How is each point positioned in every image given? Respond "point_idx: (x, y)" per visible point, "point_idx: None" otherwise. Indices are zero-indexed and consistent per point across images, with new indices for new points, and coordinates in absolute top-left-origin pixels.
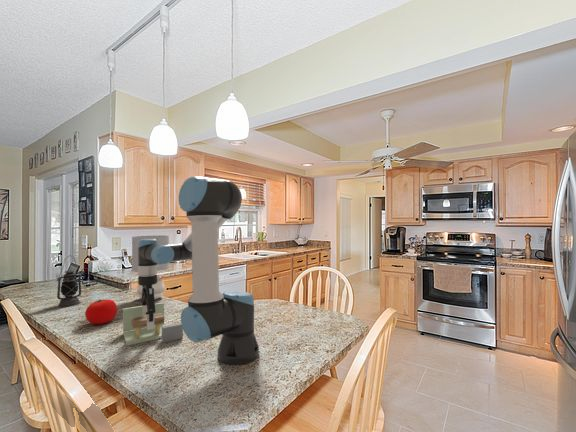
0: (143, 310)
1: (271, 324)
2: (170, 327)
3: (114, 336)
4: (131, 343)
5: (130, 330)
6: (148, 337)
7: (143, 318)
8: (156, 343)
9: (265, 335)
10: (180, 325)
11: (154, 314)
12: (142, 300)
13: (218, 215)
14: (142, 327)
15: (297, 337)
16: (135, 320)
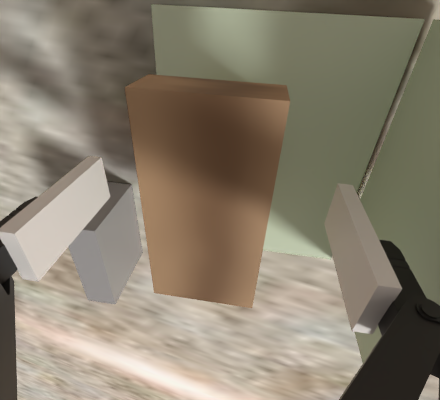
0: (356, 251)
1: (117, 397)
2: (74, 255)
3: None
4: (156, 40)
5: (409, 81)
6: None
7: (195, 190)
8: (113, 159)
9: (51, 364)
10: (87, 289)
11: (250, 273)
12: (424, 366)
13: None
14: (377, 163)
15: (20, 380)
16: (171, 119)
